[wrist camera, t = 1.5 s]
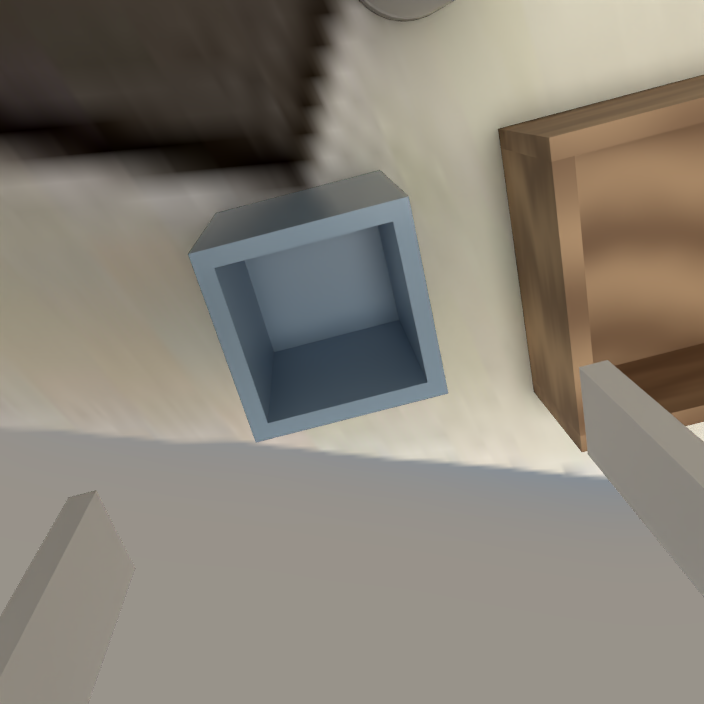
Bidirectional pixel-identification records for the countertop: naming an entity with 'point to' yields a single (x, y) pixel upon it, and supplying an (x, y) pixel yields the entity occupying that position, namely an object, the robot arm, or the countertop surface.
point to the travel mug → (405, 8)
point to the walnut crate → (612, 246)
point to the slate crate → (321, 304)
